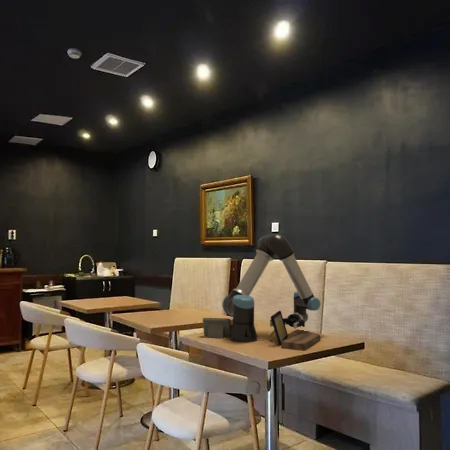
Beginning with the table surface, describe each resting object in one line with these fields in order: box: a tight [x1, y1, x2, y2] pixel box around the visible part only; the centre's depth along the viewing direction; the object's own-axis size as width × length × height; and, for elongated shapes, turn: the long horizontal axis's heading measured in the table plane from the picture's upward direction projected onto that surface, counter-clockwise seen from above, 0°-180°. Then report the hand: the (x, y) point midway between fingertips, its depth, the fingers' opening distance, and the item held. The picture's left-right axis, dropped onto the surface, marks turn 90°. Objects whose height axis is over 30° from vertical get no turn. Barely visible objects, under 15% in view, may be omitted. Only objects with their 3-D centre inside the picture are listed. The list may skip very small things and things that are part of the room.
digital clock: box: [202, 317, 232, 339], centre depth 246 cm, size 16×9×11 cm, turn 67°
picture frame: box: [268, 310, 289, 347], centre depth 234 cm, size 23×9×15 cm, turn 163°
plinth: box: [280, 332, 321, 351], centre depth 226 cm, size 12×28×3 cm, turn 152°
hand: (282, 325), depth 237 cm, fingers open, 13 cm apart
